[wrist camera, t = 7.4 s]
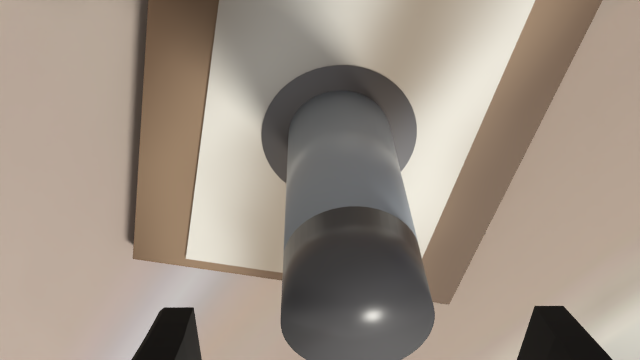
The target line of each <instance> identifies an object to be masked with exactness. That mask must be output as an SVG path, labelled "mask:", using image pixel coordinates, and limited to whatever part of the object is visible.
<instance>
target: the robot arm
mask: <svg viewBox="0 0 640 360" xmlns="http://www.w3.org/2000/svg"><path fill="white" fill-rule="evenodd" d="M132 360H202V359H201V353H200V346H199V340H198V333H197V327H196V320H195V314H194V308H163V309H162V310H161V311H160V312H159V314H158V315H157V317H156V319H155V321H154V323H153V325H152V326H151V328H150V330H149V332H148V333H147V335H146V337H145V339H144V340H143V342H142V344H141V345H140V347H139V349H138V350H137V352H136V353H135V355H134V357H133V358H132ZM517 360H612V359H611V358H610V356H609V355H608V354H607V353H606V352H605V351H604V350H603V349H602V348H601V347H600V346H599V344H598V343H597V342H596V341H595V340H594V339H593V338H592V337H591V336H590V335H589V334H588V332H587V331H586V330H585V329H584V328H583V327H582V326H581V325H580V324H579V323H578V321H577V320H576V319H575V318H574V317H573V316H572V315H571V314H570V313H569V312H568V311H567V310H566V308H565V307H564V306H535V307H534V310H533V313H532V316H531V319H530V322H529V325H528V328H527V331H526V334H525V337H524V340H523V343H522V346H521V349H520V352H519V355H518V358H517Z"/></svg>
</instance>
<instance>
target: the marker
mask: <svg viewBox="0 0 640 360" xmlns="http://www.w3.org/2000/svg"><path fill="white" fill-rule="evenodd" d="M434 319H435V312H434V306H433V302H432V298H431V294H430V290H429V286H428V281H427V277H426V273H425V269H424V265H423V261H422V257H421V253H420V249H419V245H418V240H417V236H416V232H415V228H414V224H413V220H412V216H411V212H410V208H409V204H408V200H407V195H406V191H405V187H404V183H403V179H402V175H401V171H400V167H399V163H398V159H397V154H396V150H395V146H394V142H393V138H392V134H391V130H390V126H389V122H388V119H387V117H386V115H385V113H384V112H383V110H382V109H381V108H380V107H379V106H378V105H377V104H376V103H375V102H374V101H373V100H371V99H370V98H368V97H366V96H364V95H362V94H359V93H355V92H351V91H331V92H326V93H323V94H320V95H317V96H315V97H313V98H312V99H310V100H309V101H307V102H306V103H305V104H303V105H302V106H301V107H300V108H299V110H298V111H297V112H296V114H295V115H294V117H293V119H292V121H291V124H290V127H289V133H288V157H287V181H286V205H285V229H284V253H283V277H282V301H281V329H282V333H283V335H284V338H285V340H286V341H287V343H288V344H289V346H290V347H291V348H292V349H293V350H294V351H295V352H296V353H298V354H299V355H300V356H302V357H303V358H305V359H306V360H401V359H403V358H405V357H407V356H408V355H410V354H411V353H413V352H414V351H415V350H417V349H418V348H419V347H420V346H421V345H422V344H423V342H424V341H425V340H426V339H427V337H428V336H429V334H430V332H431V330H432V327H433V324H434Z"/></svg>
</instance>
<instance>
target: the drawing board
mask: <svg viewBox="0 0 640 360" xmlns="http://www.w3.org/2000/svg"><path fill="white" fill-rule="evenodd" d="M601 2H602V0H148V13H147V30H146V47H145V64H144V80H143V97H142V114H141V131H140V147H139V164H138V181H137V197H136V214H135V231H134V248H133V259H138V260H145V261H152V262H159V263H166V264H173V265H179V266H186V267H193V268H200V269H207V270H214V271H221V272H228V273H235V274H242V275H249V276H256V277H263V278H269V279H276V280H282V277H283V253H284V229H285V205H286V181H287V157H288V133H289V127H290V124H291V121H292V119H293V117H294V115H295V114H296V112H297V111H298V110H299V108H300V107H301V106H302V105H303V104H305V103H306V102H307V101H309V100H310V99H312V98H313V97H315V96H317V95H320V94H323V93H326V92H331V91H351V92H355V93H359V94H362V95H364V96H366V97H368V98H370V99H371V100H373V101H374V102H375V103H376V104H377V105H378V106H379V107H380V108H381V109H382V110H383V112H384V113H385V115H386V117H387V119H388V122H389V126H390V130H391V134H392V138H393V142H394V146H395V150H396V154H397V159H398V163H399V167H400V171H401V175H402V179H403V183H404V187H405V191H406V195H407V200H408V204H409V208H410V212H411V216H412V220H413V224H414V228H415V232H416V236H417V240H418V245H419V249H420V253H421V257H422V261H423V265H424V269H425V273H426V277H427V281H428V286H429V290H430V294H431V298H432V302H436V303H443V304H449V303H450V302H451V300H452V298H453V296H454V294H455V292H456V290H457V288H458V286H459V284H460V282H461V280H462V278H463V276H464V274H465V272H466V270H467V268H468V266H469V264H470V262H471V260H472V258H473V256H474V254H475V252H476V250H477V248H478V246H479V244H480V242H481V240H482V238H483V236H484V234H485V232H486V230H487V228H488V226H489V224H490V222H491V220H492V218H493V216H494V214H495V212H496V210H497V208H498V206H499V204H500V202H501V200H502V198H503V196H504V194H505V192H506V190H507V188H508V186H509V184H510V183H511V181H512V179H513V177H514V175H515V173H516V171H517V169H518V167H519V165H520V163H521V161H522V159H523V157H524V155H525V153H526V151H527V149H528V147H529V145H530V143H531V141H532V139H533V137H534V135H535V133H536V131H537V129H538V127H539V125H540V123H541V121H542V119H543V117H544V115H545V113H546V111H547V109H548V107H549V105H550V103H551V101H552V99H553V97H554V95H555V93H556V91H557V89H558V87H559V85H560V83H561V81H562V79H563V77H564V75H565V73H566V71H567V69H568V67H569V65H570V64H571V62H572V60H573V58H574V56H575V54H576V52H577V50H578V48H579V46H580V44H581V42H582V40H583V38H584V36H585V34H586V32H587V30H588V28H589V26H590V24H591V22H592V20H593V18H594V16H595V14H596V12H597V10H598V8H599V6H600V4H601Z"/></svg>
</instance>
